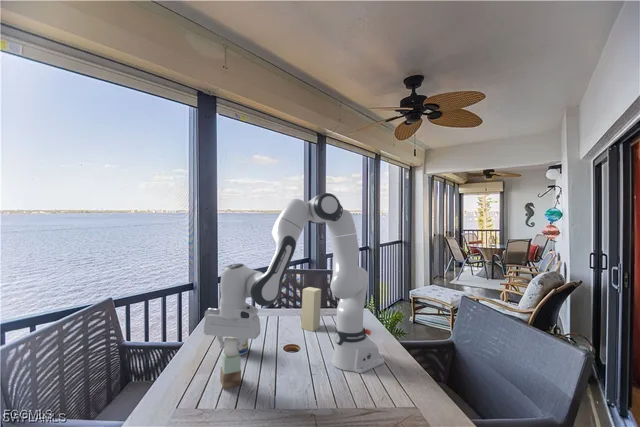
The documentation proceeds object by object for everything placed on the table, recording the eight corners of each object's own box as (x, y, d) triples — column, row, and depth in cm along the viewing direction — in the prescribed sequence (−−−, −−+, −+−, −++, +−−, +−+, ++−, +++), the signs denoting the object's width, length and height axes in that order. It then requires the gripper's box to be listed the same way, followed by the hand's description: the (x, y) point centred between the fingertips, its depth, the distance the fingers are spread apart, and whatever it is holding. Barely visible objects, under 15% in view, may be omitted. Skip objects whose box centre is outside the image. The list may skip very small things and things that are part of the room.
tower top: (237, 363, 111) (237, 350, 111) (240, 371, 107) (240, 356, 107) (221, 366, 109) (222, 353, 109) (224, 374, 104) (224, 359, 104)
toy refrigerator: (320, 327, 162) (321, 288, 162) (313, 331, 156) (314, 291, 156) (308, 324, 167) (309, 286, 167) (300, 328, 160) (302, 289, 160)
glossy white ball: (238, 349, 111) (238, 335, 111) (238, 355, 106) (239, 341, 106) (223, 350, 109) (224, 336, 109) (223, 356, 105) (224, 342, 105)
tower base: (237, 376, 112) (237, 363, 112) (240, 385, 106) (241, 371, 106) (220, 380, 109) (220, 366, 109) (223, 389, 104) (223, 374, 104)
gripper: (200, 310, 106) (199, 349, 106) (256, 314, 103) (255, 354, 103) (209, 305, 112) (208, 342, 112) (262, 308, 110) (261, 346, 110)
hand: (231, 348), depth 108 cm, fingers closed on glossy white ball, 5 cm apart
